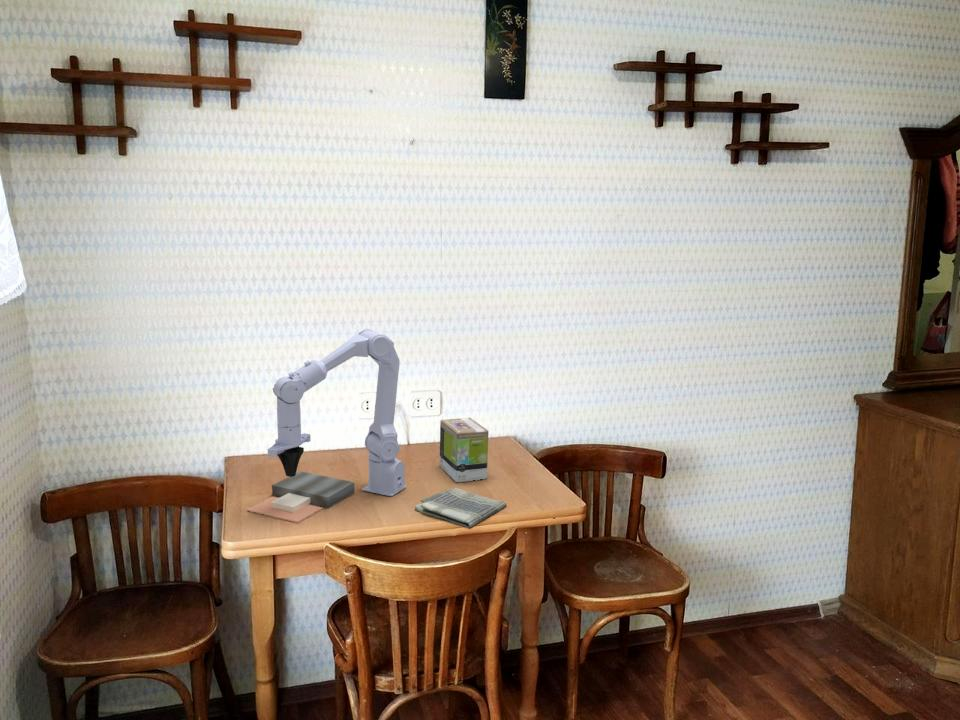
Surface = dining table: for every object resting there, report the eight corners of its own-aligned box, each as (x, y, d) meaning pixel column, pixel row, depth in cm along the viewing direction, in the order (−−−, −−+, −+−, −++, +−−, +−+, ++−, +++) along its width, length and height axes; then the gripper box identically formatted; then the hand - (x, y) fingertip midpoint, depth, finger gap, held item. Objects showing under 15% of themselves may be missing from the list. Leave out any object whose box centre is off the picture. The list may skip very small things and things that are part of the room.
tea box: (488, 479, 221) (489, 430, 218) (455, 483, 217) (456, 433, 214) (469, 462, 234) (470, 415, 231) (438, 466, 231) (438, 418, 228)
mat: (322, 509, 197) (322, 507, 197) (298, 523, 188) (298, 521, 188) (272, 497, 204) (272, 496, 204) (246, 511, 195) (246, 509, 195)
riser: (354, 492, 208) (354, 482, 208) (328, 508, 198) (327, 497, 197) (300, 481, 216) (300, 471, 215) (272, 495, 205) (271, 485, 204)
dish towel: (508, 508, 202) (509, 496, 201) (469, 531, 188) (469, 519, 187) (451, 491, 212) (452, 480, 212) (410, 512, 198) (410, 500, 197)
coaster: (310, 503, 200) (310, 497, 199) (293, 512, 194) (293, 507, 193) (288, 498, 203) (288, 492, 202) (271, 507, 196) (271, 502, 196)
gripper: (294, 415, 202) (295, 464, 205) (257, 429, 189) (259, 482, 192) (316, 419, 199) (317, 468, 202) (280, 433, 186) (282, 486, 189)
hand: (290, 475), depth 197 cm, fingers closed
